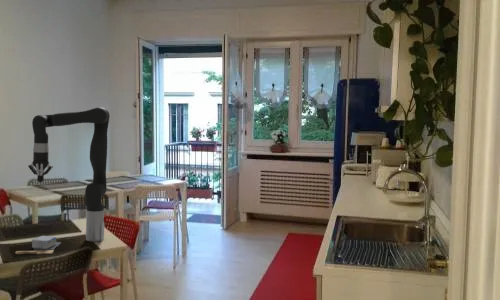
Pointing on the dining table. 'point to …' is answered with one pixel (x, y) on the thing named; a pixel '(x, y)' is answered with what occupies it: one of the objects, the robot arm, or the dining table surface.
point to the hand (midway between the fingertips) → (40, 182)
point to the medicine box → (43, 242)
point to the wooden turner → (35, 252)
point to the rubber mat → (50, 247)
